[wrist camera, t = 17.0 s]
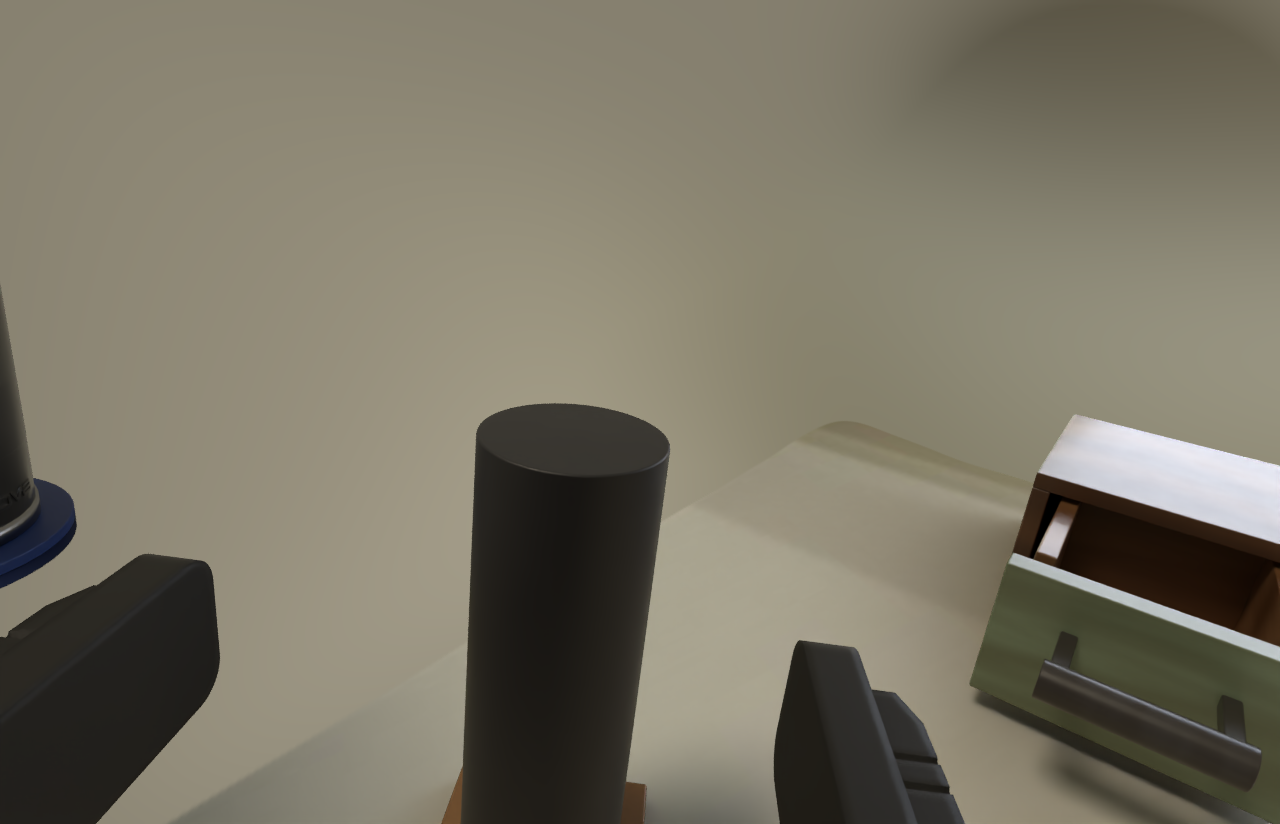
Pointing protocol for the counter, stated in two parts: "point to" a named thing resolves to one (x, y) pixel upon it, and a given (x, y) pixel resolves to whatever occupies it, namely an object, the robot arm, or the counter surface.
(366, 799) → the counter surface
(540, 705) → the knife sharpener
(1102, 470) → the cabinet
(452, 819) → the coaster
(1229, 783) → the drawer
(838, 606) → the counter surface
